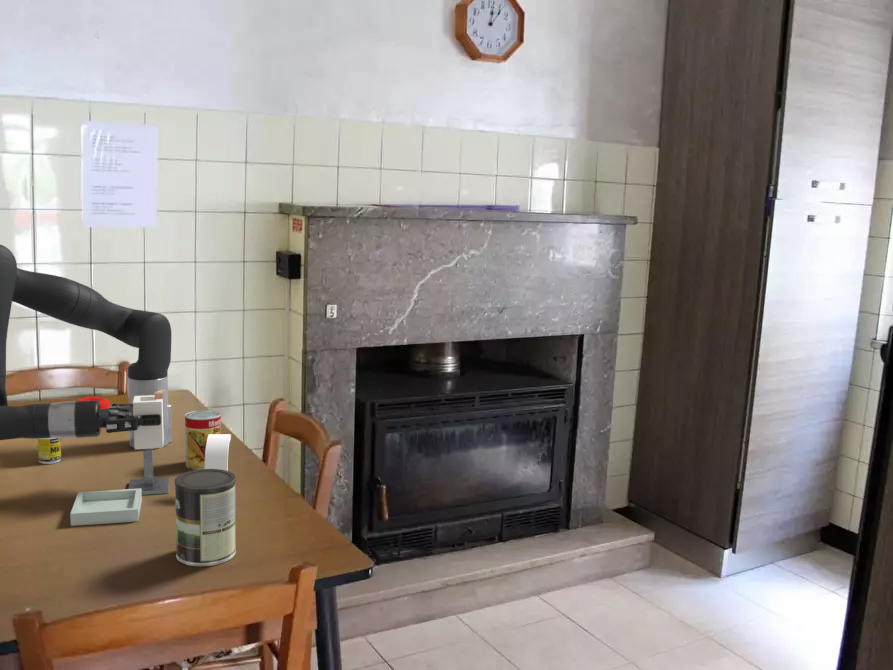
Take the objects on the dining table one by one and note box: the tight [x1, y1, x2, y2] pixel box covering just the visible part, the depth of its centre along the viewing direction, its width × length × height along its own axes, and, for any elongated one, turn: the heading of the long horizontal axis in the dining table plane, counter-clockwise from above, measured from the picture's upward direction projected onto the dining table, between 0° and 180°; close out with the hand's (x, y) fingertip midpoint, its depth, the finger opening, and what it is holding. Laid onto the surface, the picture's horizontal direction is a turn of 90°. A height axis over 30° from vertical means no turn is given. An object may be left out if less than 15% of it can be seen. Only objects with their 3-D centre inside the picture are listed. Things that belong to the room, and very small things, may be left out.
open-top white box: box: [133, 392, 164, 450], centre depth 182 cm, size 6×6×11 cm
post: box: [127, 449, 170, 496], centre depth 183 cm, size 8×8×8 cm
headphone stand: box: [205, 433, 232, 471], centre depth 182 cm, size 5×6×12 cm
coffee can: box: [174, 469, 237, 568], centre depth 151 cm, size 10×10×14 cm
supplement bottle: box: [37, 438, 62, 465], centre depth 198 cm, size 5×5×8 cm
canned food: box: [184, 409, 222, 471], centre depth 199 cm, size 8×8×12 cm
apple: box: [76, 396, 111, 409], centre depth 226 cm, size 9×9×8 cm
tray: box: [69, 488, 143, 527], centre depth 170 cm, size 12×12×2 cm
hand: (160, 415), depth 182 cm, fingers closed on open-top white box, 5 cm apart
